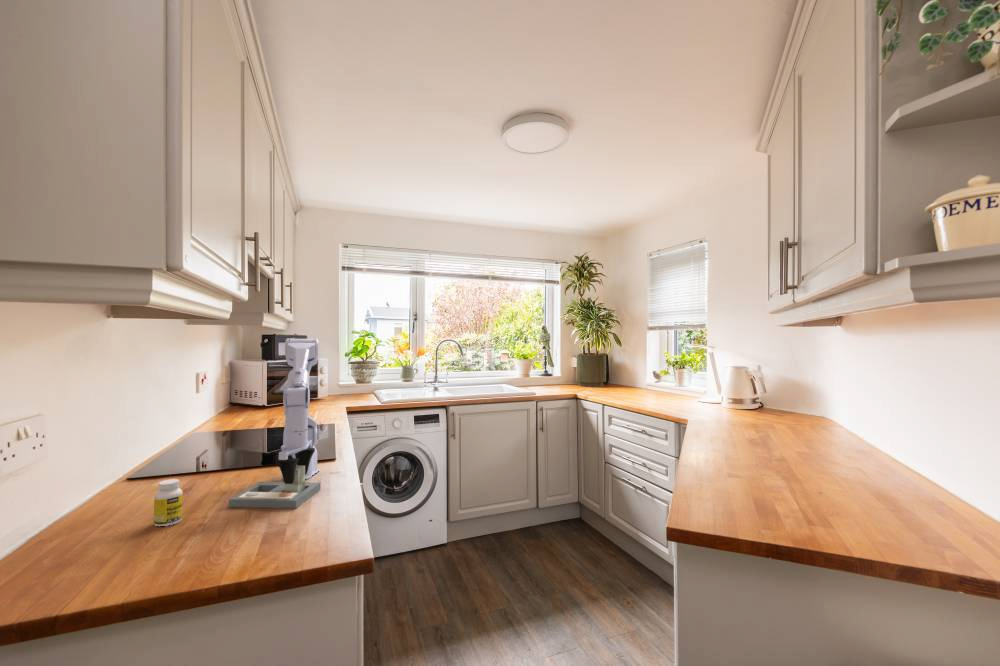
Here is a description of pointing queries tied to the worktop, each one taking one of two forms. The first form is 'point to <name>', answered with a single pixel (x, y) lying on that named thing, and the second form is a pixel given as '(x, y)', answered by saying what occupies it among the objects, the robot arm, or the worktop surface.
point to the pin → (297, 481)
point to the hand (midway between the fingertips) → (295, 478)
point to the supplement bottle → (168, 503)
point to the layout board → (272, 496)
